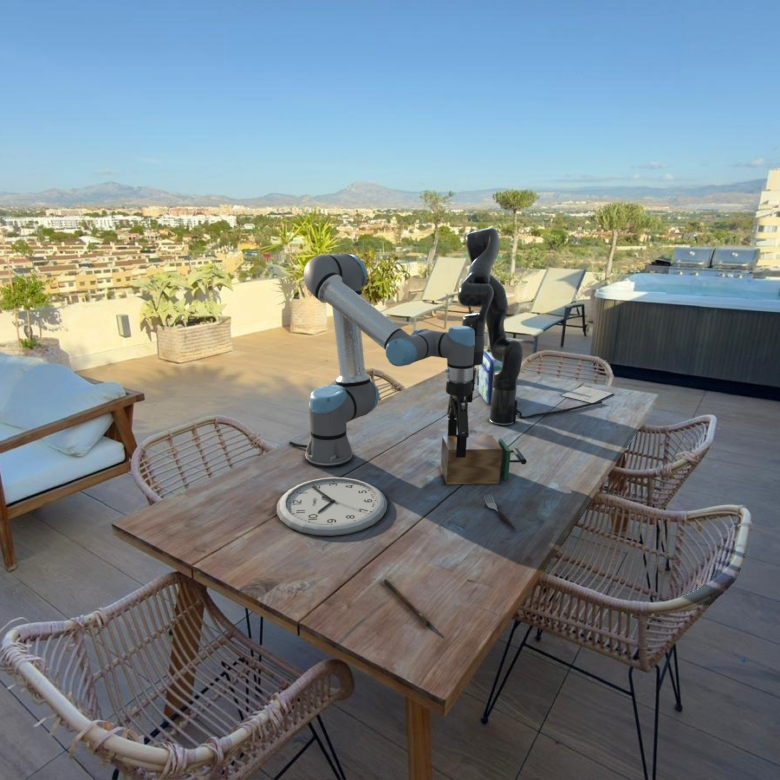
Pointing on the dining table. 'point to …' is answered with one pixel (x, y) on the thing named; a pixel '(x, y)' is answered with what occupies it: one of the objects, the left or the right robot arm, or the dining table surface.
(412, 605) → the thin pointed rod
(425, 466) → the dining table surface
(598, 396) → the invitation card
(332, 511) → the wall clock
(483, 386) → the lunch box
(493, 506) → the fork
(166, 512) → the dining table surface
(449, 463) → the open wooden box
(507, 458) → the drawer
